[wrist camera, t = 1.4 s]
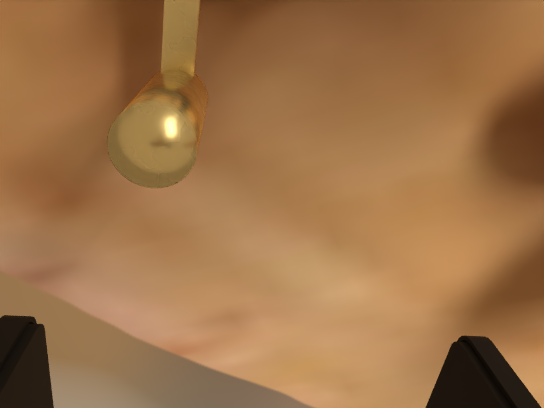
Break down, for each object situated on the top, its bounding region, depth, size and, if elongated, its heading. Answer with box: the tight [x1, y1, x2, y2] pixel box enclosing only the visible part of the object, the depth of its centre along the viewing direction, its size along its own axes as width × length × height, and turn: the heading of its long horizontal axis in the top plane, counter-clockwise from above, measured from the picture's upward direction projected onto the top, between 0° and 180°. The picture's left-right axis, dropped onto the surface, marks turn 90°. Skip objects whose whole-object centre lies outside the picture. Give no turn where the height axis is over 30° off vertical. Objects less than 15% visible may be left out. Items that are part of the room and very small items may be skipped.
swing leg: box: [107, 0, 208, 188], centre depth 20 cm, size 13×4×9 cm, turn 171°
